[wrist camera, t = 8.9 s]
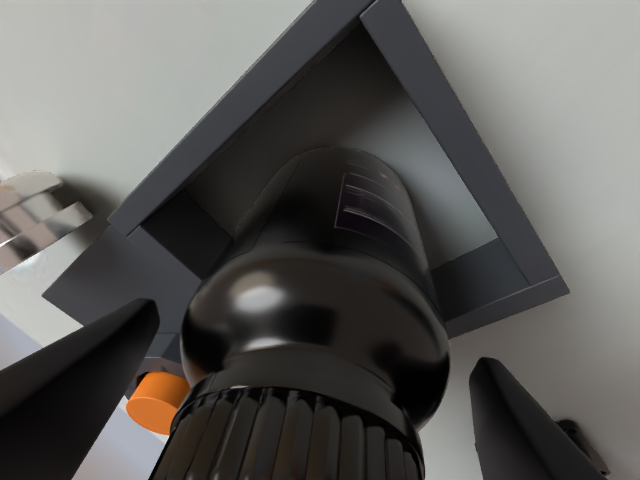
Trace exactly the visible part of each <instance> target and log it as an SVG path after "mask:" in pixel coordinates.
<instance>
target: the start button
mask: <svg viewBox="0 0 640 480" xmlns="http://www.w3.org/2000/svg"><path fill="white" fill-rule="evenodd" d="M190 389H191V388H190V386H189V384H188V381H187V380H186V379H184V378H181V377H178V376H175V375H172V374H169V373H166V372H149V373H148V374H146V376H145V377H144V378H143V380H142V381H141V383H140V384H139V386H138V387H137V389H136V390H135V392H134V393H133V395H132V396H131V398H130V399H129V401H128V402H127V405H126V410H127V413H128V414H129V416H130V417H131V418H132V419H133V420H134V421H135V422H136V423H138V424H139V425H141V426H142V427H144V428H146V429H148V430H150V431H153V432H156V433H159V434H163V435H170V434H169V432H170V425H171V422H172V420H173V417H174V415H175V413H176V411H177V410H178V408H179V406H180V404H181V402H182V401H183V399H184V397H185V396H186V394H187V393H188V391H189V390H190Z"/></svg>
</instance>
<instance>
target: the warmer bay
mask: <svg viewBox="0 0 640 480" xmlns="http://www.w3.org/2000/svg"><path fill="white" fill-rule="evenodd" d="M361 22H362V23H363V25H364V27H365V28H366V30H367V31H368V33H369V34H370V36H371V38H372V39H373V41H374V42H375V44H376V45H377V47H378V48H379V50H380V52H381V53H382V55H383V56H384V58H385V59H386V61H387V63H388V64H389V66H390V67H391V69H392V70H393V72H394V74H395V75H396V77H397V78H398V80H399V81H400V83H401V84H402V86H403V88H404V89H405V91H406V92H407V94H408V95H409V97H410V99H411V100H412V102H413V103H414V105H415V106H416V108H417V110H418V111H419V113H420V114H421V116H422V117H423V119H424V120H425V122H426V124H427V125H428V127H429V128H430V130H431V131H432V133H433V135H434V136H435V138H436V139H437V141H438V142H439V144H440V146H441V147H442V149H443V150H444V152H445V153H446V155H447V157H448V158H449V160H450V161H451V163H452V164H453V166H454V167H455V169H456V171H457V172H458V174H459V175H460V177H461V178H462V180H463V182H464V183H465V185H466V186H467V188H468V189H469V191H470V193H471V194H472V196H473V197H474V199H475V200H476V202H477V203H478V205H479V207H480V208H481V210H482V211H483V213H484V214H485V216H486V218H487V219H488V221H489V222H490V224H491V225H492V227H493V229H494V230H495V232H496V233H497V235H498V236H499V238H498V239H495V240H493V241H491V242H489V243H487V244H485V245H483V246H481V247H479V248H477V249H475V250H473V251H471V252H469V253H467V254H465V255H463V256H461V257H459V258H457V259H455V260H453V261H451V262H449V263H446V264H444V265H442V266H440V267H438V268H436V269H434V270H432V271H430V272H431V276H432V279H433V283H434V286H435V290H436V294H437V297H438V301H439V305H440V308H441V312H442V316H443V319H444V323H445V327H446V332H447V336H448V340H449V339H451V338H454V337H457V336H459V335H462V334H464V333H467V332H470V331H472V330H475V329H478V328H480V327H483V326H485V325H488V324H491V323H493V322H496V321H498V320H501V319H504V318H506V317H509V316H512V315H514V314H517V313H519V312H522V311H525V310H527V309H530V308H533V307H535V306H538V305H540V304H543V303H546V302H548V301H551V300H553V299H556V298H559V297H561V296H564V295H567V294H569V293H570V290H569V289H568V287H567V285H566V283H565V282H564V280H563V278H562V277H561V275H560V274H559V271H558V270H557V268H556V266H555V264H554V263H553V261H552V259H551V258H550V256H549V254H548V252H547V251H546V249H545V247H544V246H543V244H542V242H541V240H540V239H539V237H538V235H537V234H536V232H535V230H534V228H533V227H532V225H531V223H530V221H529V220H528V218H527V216H526V215H525V213H524V211H523V209H522V208H521V206H520V204H519V203H518V201H517V199H516V197H515V196H514V194H513V192H512V191H511V189H510V187H509V185H508V184H507V182H506V180H505V178H504V177H503V175H502V173H501V172H500V170H499V168H498V166H497V165H496V163H495V161H494V160H493V158H492V156H491V154H490V153H489V151H488V149H487V148H486V146H485V144H484V142H483V141H482V139H481V137H480V135H479V134H478V132H477V130H476V129H475V127H474V125H473V123H472V122H471V120H470V118H469V117H468V115H467V113H466V111H465V110H464V108H463V106H462V104H461V103H460V101H459V99H458V98H457V96H456V94H455V92H454V91H453V89H452V87H451V86H450V84H449V82H448V80H447V79H446V77H445V75H444V74H443V72H442V70H441V68H440V67H439V65H438V63H437V61H436V60H435V58H434V56H433V55H432V53H431V51H430V49H429V48H428V46H427V44H426V43H425V41H424V39H423V37H422V36H421V34H420V32H419V31H418V29H417V27H416V25H415V24H414V22H413V20H412V18H411V17H410V15H409V13H408V12H407V10H406V8H405V6H404V5H403V3H402V1H401V0H313V1H312V3H311V4H310V5H309V6H308V7H307V8H306V9H305V10H304V11H303V12H302V13H301V14H300V15H299V16H298V17H297V18H296V19H295V20H294V21H293V23H292V24H291V25H290V26H289V27H288V28H287V29H286V30H285V31H284V32H283V33H282V34H281V35H280V36H279V37H278V38H277V39H276V40H275V42H274V43H273V44H272V45H271V46H270V47H269V48H268V49H267V50H266V51H265V52H264V53H263V54H262V55H261V56H260V57H259V58H258V59H257V61H256V62H255V63H254V64H253V65H252V66H251V67H250V68H249V69H248V70H247V71H246V72H245V73H244V74H243V75H242V76H241V77H240V78H239V80H238V81H237V82H236V83H235V84H234V85H233V86H232V87H231V88H230V89H229V90H228V91H227V92H226V93H225V94H224V95H223V96H222V97H221V99H220V100H219V101H218V102H217V103H216V104H215V105H214V106H213V107H212V108H211V109H210V110H209V111H208V112H207V113H206V114H205V115H204V116H203V118H202V119H201V120H200V121H199V122H198V123H197V124H196V125H195V126H194V127H193V128H192V129H191V130H190V131H189V132H188V133H187V134H186V135H185V136H184V138H183V139H182V140H181V141H180V142H179V143H178V144H177V145H176V146H175V147H174V148H173V149H172V150H171V151H170V152H169V153H168V154H167V155H166V157H165V158H164V159H163V160H162V161H161V162H160V163H159V164H158V165H157V166H156V167H155V168H154V169H153V170H152V171H151V172H150V173H149V174H148V176H147V177H146V178H145V179H144V180H143V181H142V182H141V183H140V184H139V185H138V186H137V187H136V188H135V189H134V190H133V191H132V192H131V193H130V195H129V196H128V197H127V198H126V199H125V200H124V201H123V202H122V203H121V204H120V205H119V206H118V207H117V208H116V209H115V210H114V211H113V212H112V214H111V215H110V216H109V217H108V218H107V221H108V222H109V223H110V224H111V225H113V226H114V227H115V228H116V229H117V230H118V231H120V232H121V233H122V234H123V235H124V236H128V237H127V239H129V240H130V241H131V242H132V243H133V244H134V245H136V246H137V247H138V248H139V249H140V250H142V251H143V252H144V253H145V254H146V255H147V256H149V257H150V258H151V259H152V260H153V261H154V262H156V263H157V264H158V265H159V266H160V267H162V268H163V269H164V270H165V271H166V272H167V273H169V274H170V275H171V276H172V277H173V278H175V279H176V280H177V281H178V282H179V283H180V284H182V285H183V286H184V287H185V288H186V289H187V290H189V291H190V292H191V293H192V294H193V295H194V293H195V291H196V290H197V288H198V286H199V285H200V283H201V282H202V280H203V279H204V277H205V276H206V274H207V273H208V271H209V270H210V268H211V267H212V265H213V264H214V262H215V261H216V259H217V258H218V256H219V255H220V254H221V252H222V251H223V249H224V248H225V246H226V245H227V243H228V242H229V240H230V239H231V237H230V236H229V235H228V234H227V233H226V232H225V231H224V230H223V229H222V228H221V227H220V226H219V225H218V224H217V223H216V222H215V221H214V220H212V219H211V218H210V217H209V216H208V215H207V214H206V213H205V212H204V211H203V210H202V209H201V208H200V207H199V206H198V205H197V204H196V203H195V202H194V201H193V200H192V199H191V198H190V197H189V196H188V195H187V194H186V193H185V192H184V191H182V190H183V189H184V188H185V187H186V186H187V185H188V184H190V183H191V182H192V181H193V180H194V179H195V178H196V177H197V176H198V175H199V174H200V173H201V172H202V171H203V170H204V169H206V168H207V167H208V166H209V165H210V164H211V163H212V162H213V161H214V160H215V159H216V158H217V157H218V156H219V155H220V154H221V153H223V152H224V151H225V150H226V149H227V148H228V147H229V146H230V145H231V144H232V143H233V142H234V141H235V140H236V139H237V138H238V137H240V136H241V135H242V134H243V133H244V132H245V131H246V130H247V129H248V128H249V127H250V126H251V125H252V124H253V123H254V122H255V121H257V120H258V119H259V118H260V117H261V116H262V115H263V114H264V113H265V112H266V111H267V110H268V109H269V108H270V107H271V106H273V105H274V104H275V103H276V102H277V101H278V100H279V99H280V98H281V97H282V96H283V95H284V94H285V93H286V92H287V91H288V90H290V89H291V88H292V87H293V86H294V85H295V84H296V83H297V82H298V81H299V80H300V79H301V78H302V77H303V76H304V75H305V74H307V73H308V72H309V71H310V70H311V69H312V68H313V67H314V66H315V65H316V64H317V63H318V62H319V61H320V60H321V59H322V58H324V57H325V56H326V55H327V54H328V53H329V52H330V51H331V50H332V49H333V48H334V47H335V46H336V45H337V44H338V43H339V42H341V41H342V40H343V39H344V38H345V37H346V36H347V35H348V34H349V33H350V32H351V31H352V30H353V29H354V28H355V27H357V26H358V25H359V24H360V23H361Z"/></svg>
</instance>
